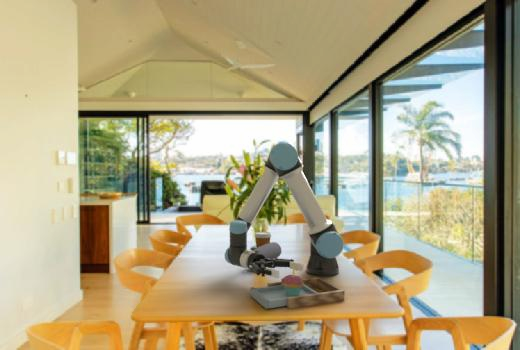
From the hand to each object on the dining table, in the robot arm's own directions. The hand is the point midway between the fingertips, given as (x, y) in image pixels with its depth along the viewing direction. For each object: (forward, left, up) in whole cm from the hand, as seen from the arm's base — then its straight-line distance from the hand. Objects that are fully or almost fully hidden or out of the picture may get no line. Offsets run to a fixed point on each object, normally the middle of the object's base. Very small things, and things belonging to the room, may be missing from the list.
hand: (291, 271), depth 146 cm
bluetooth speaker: (-10, -49, -10) cm, 51 cm away
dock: (-6, 0, -10) cm, 12 cm away
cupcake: (0, 0, -9) cm, 9 cm away
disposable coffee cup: (-18, -71, -10) cm, 74 cm away
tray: (+3, 0, -10) cm, 10 cm away
